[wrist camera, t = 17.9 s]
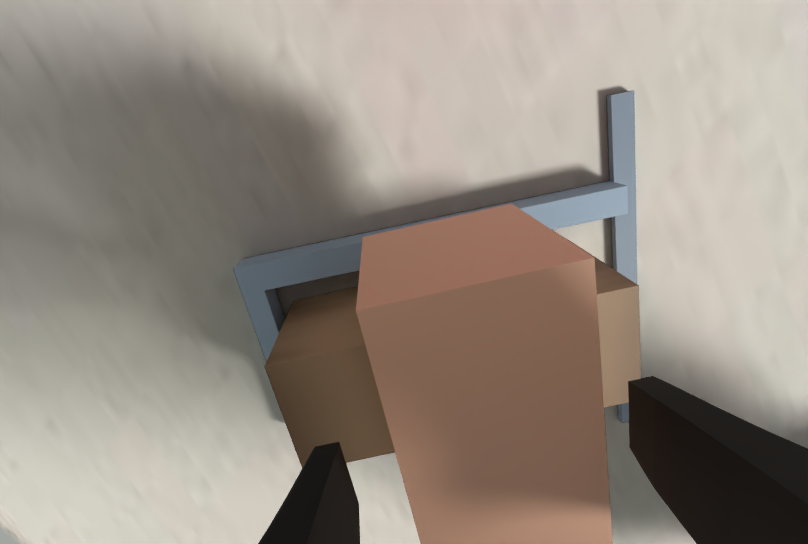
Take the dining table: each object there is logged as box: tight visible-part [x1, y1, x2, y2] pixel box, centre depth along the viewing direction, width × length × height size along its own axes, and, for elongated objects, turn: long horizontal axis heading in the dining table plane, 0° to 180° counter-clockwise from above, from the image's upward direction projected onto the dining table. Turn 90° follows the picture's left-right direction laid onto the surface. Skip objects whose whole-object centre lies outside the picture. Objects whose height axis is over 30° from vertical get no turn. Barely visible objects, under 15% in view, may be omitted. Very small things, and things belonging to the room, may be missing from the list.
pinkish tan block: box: [356, 204, 613, 544], centre depth 11 cm, size 4×10×5 cm, turn 12°
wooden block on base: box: [265, 240, 641, 468], centre depth 16 cm, size 11×4×5 cm, turn 102°
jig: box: [233, 91, 637, 423], centre depth 17 cm, size 15×14×1 cm
